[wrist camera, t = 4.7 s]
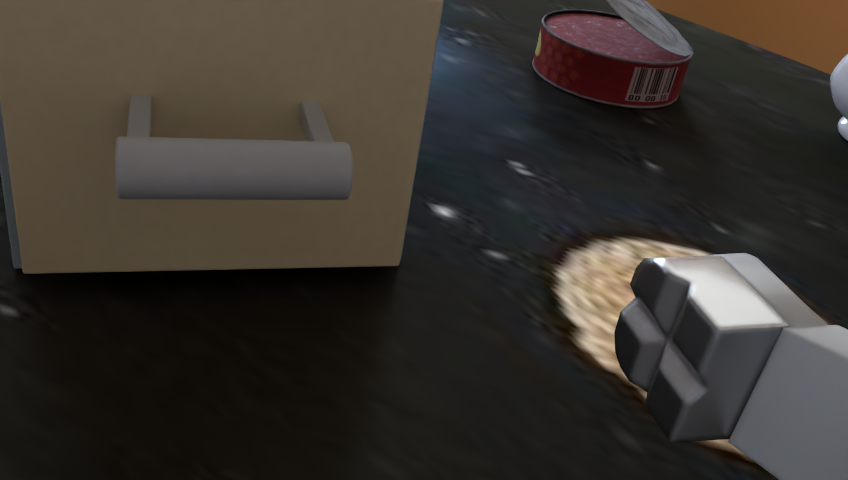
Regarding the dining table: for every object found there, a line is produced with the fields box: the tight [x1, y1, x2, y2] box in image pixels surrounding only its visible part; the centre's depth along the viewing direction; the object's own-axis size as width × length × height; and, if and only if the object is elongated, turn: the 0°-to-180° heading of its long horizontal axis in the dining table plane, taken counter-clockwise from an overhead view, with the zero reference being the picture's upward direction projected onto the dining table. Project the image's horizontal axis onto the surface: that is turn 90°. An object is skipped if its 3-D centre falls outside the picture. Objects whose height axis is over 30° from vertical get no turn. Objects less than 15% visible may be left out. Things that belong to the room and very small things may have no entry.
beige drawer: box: [0, 0, 443, 274], centre depth 29 cm, size 19×13×10 cm, turn 15°
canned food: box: [532, 0, 693, 108], centre depth 53 cm, size 11×10×10 cm
